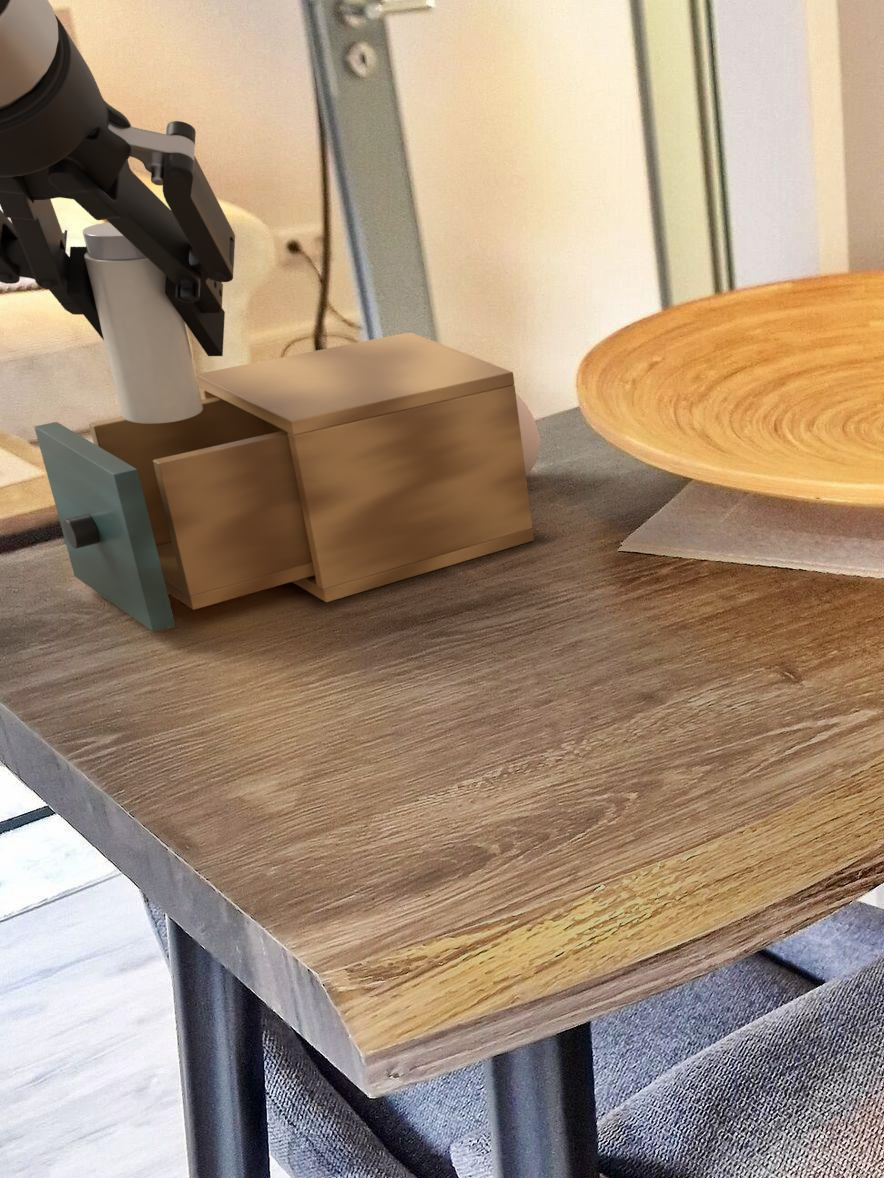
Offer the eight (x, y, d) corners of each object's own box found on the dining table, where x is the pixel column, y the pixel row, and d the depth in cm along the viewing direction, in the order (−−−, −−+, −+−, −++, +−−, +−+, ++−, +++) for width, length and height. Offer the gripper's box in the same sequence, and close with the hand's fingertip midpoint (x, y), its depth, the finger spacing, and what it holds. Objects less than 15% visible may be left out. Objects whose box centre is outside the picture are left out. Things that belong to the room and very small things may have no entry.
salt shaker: (109, 411, 92) (65, 227, 87) (184, 396, 94) (144, 216, 89) (141, 429, 89) (97, 240, 84) (216, 413, 92) (177, 229, 87)
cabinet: (326, 602, 96) (290, 421, 91) (232, 546, 103) (194, 374, 98) (534, 540, 105) (513, 371, 100) (435, 492, 112) (410, 331, 107)
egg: (559, 481, 114) (548, 384, 111) (502, 502, 111) (489, 401, 107) (510, 466, 116) (498, 370, 113) (453, 486, 113) (439, 387, 110)
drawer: (130, 639, 89) (89, 480, 85) (52, 582, 96) (10, 431, 91) (372, 569, 98) (346, 421, 94) (286, 521, 104) (258, 380, 100)
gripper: (-266, 125, 69) (-1, 398, 91) (180, 128, 71) (331, 394, 94) (-244, -31, 71) (10, 274, 93) (189, -23, 73) (335, 273, 96)
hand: (170, 334), depth 93 cm, fingers closed on salt shaker, 4 cm apart
